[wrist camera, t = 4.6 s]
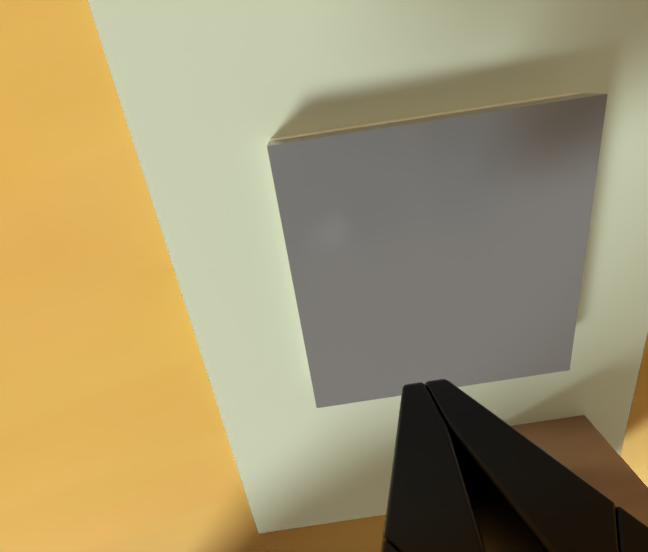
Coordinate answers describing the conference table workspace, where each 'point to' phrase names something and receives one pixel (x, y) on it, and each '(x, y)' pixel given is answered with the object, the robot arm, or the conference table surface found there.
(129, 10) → the mat
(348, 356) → the tile
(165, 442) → the conference table surface
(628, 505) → the block
